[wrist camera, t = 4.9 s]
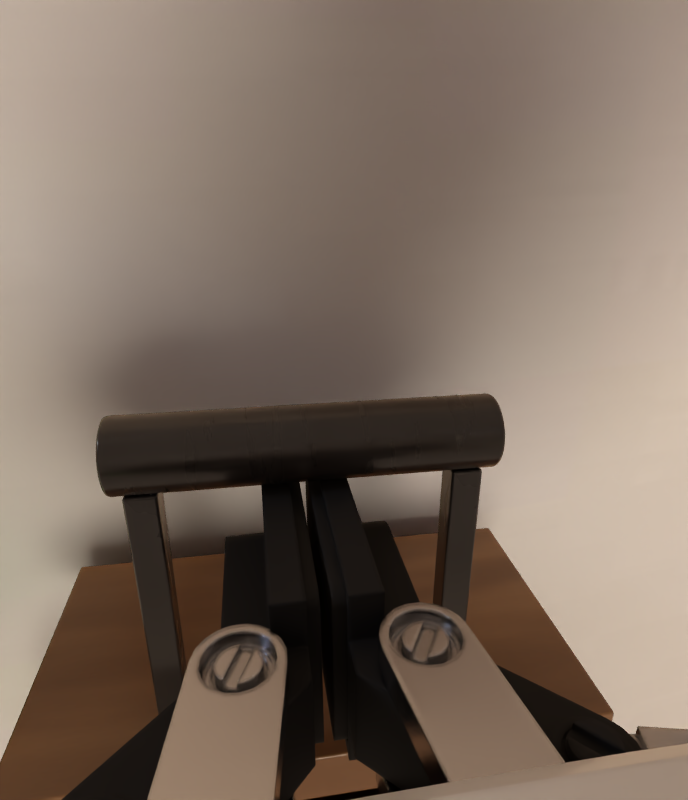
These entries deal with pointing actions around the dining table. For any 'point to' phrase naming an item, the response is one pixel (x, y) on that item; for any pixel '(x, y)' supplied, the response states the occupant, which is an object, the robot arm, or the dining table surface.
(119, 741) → the drawer
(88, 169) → the dining table surface
